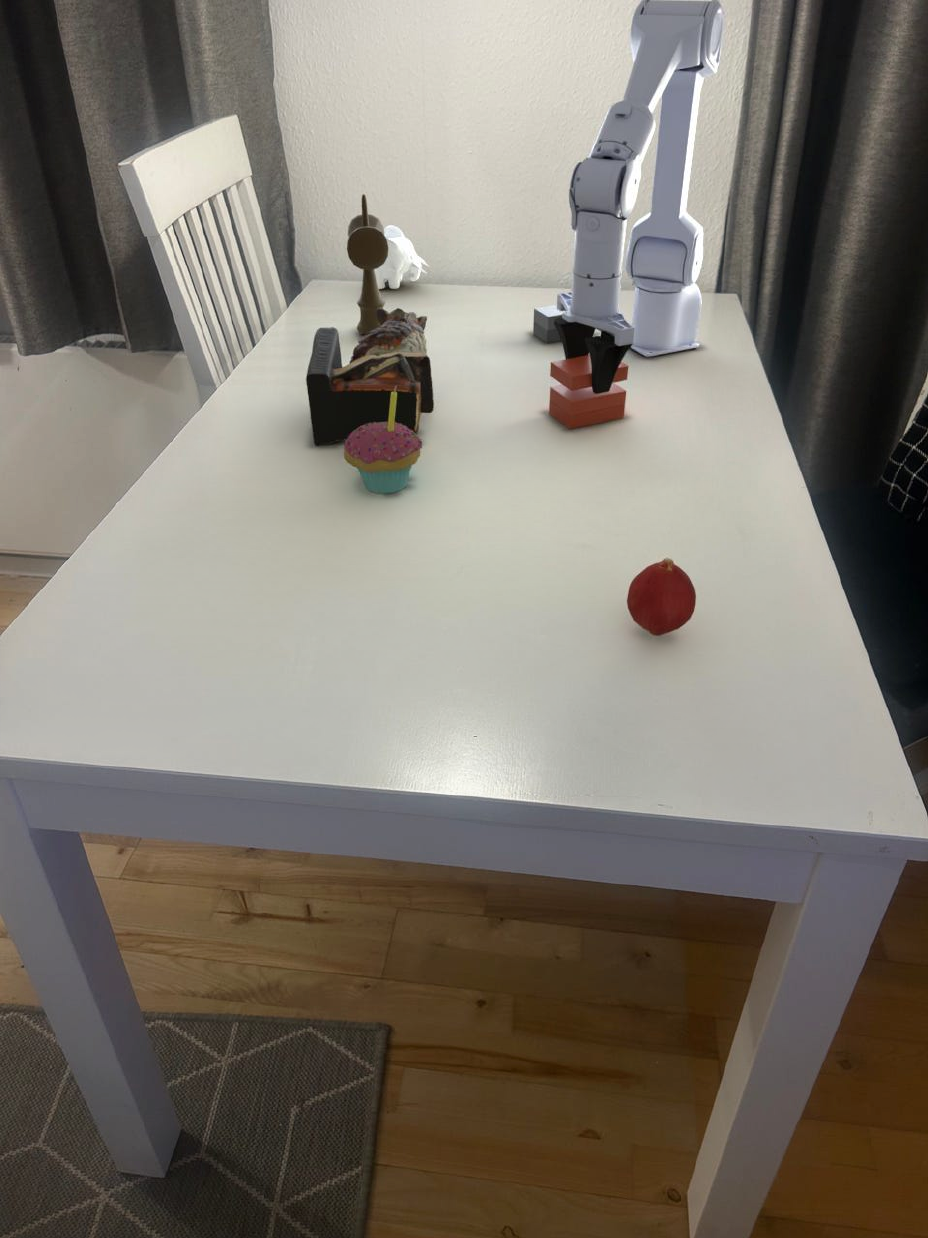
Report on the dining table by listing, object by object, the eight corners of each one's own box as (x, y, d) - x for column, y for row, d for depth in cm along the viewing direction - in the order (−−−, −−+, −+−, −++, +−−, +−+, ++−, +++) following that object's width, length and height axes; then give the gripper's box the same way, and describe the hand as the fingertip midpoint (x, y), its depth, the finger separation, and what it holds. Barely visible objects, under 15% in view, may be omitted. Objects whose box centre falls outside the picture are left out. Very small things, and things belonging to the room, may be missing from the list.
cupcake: (433, 473, 105) (430, 373, 98) (405, 508, 99) (400, 404, 92) (365, 462, 107) (357, 363, 100) (334, 496, 101) (322, 393, 94)
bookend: (302, 379, 105) (318, 288, 123) (316, 459, 112) (329, 362, 130) (431, 372, 105) (427, 282, 123) (436, 453, 112) (432, 357, 130)
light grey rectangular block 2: (578, 313, 143) (579, 300, 142) (593, 322, 140) (594, 309, 138) (533, 321, 140) (533, 308, 139) (547, 330, 137) (548, 316, 136)
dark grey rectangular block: (577, 326, 144) (578, 313, 143) (592, 335, 141) (593, 322, 140) (532, 333, 141) (533, 321, 140) (547, 343, 138) (547, 330, 137)
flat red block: (604, 365, 118) (605, 351, 117) (627, 379, 114) (628, 365, 113) (550, 375, 115) (550, 361, 114) (571, 391, 111) (572, 376, 110)
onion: (617, 615, 83) (625, 540, 78) (679, 611, 83) (691, 537, 79) (631, 655, 78) (641, 579, 74) (697, 651, 79) (711, 575, 74)
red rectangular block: (601, 402, 121) (602, 389, 120) (623, 417, 117) (625, 404, 116) (548, 413, 118) (549, 399, 117) (569, 429, 114) (570, 415, 113)
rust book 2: (602, 389, 120) (603, 375, 119) (625, 404, 116) (626, 390, 115) (549, 399, 117) (550, 386, 116) (570, 415, 113) (571, 402, 112)
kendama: (354, 343, 139) (342, 202, 126) (353, 322, 146) (342, 187, 134) (393, 342, 139) (386, 201, 127) (390, 320, 147) (383, 185, 135)
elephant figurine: (426, 293, 158) (425, 239, 152) (357, 292, 158) (353, 238, 153) (431, 276, 165) (429, 224, 160) (365, 275, 166) (362, 224, 161)
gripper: (537, 260, 111) (533, 368, 119) (600, 294, 100) (591, 410, 108) (587, 252, 113) (580, 359, 121) (654, 285, 102) (641, 399, 111)
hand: (588, 382), depth 115 cm, fingers closed on flat red block, 5 cm apart
